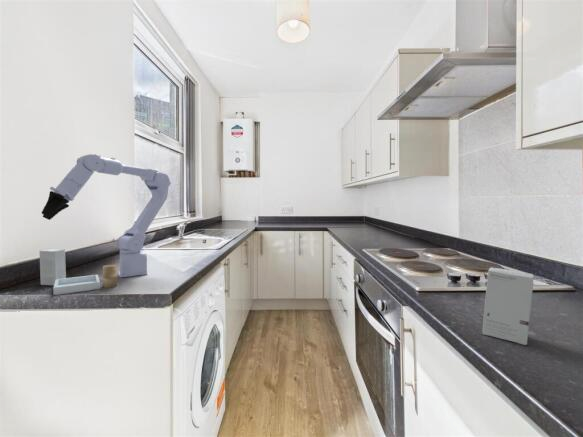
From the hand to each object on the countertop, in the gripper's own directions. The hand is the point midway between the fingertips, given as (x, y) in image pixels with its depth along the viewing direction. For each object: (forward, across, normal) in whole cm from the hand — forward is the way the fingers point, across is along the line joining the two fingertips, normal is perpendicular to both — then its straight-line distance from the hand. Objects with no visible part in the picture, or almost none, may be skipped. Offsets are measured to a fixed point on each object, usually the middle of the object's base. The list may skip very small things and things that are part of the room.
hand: (45, 216), depth 93 cm
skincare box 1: (+18, -12, +13) cm, 26 cm away
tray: (+16, -2, +20) cm, 25 cm away
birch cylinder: (+12, +2, +27) cm, 30 cm away
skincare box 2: (-8, +97, +92) cm, 134 cm away
